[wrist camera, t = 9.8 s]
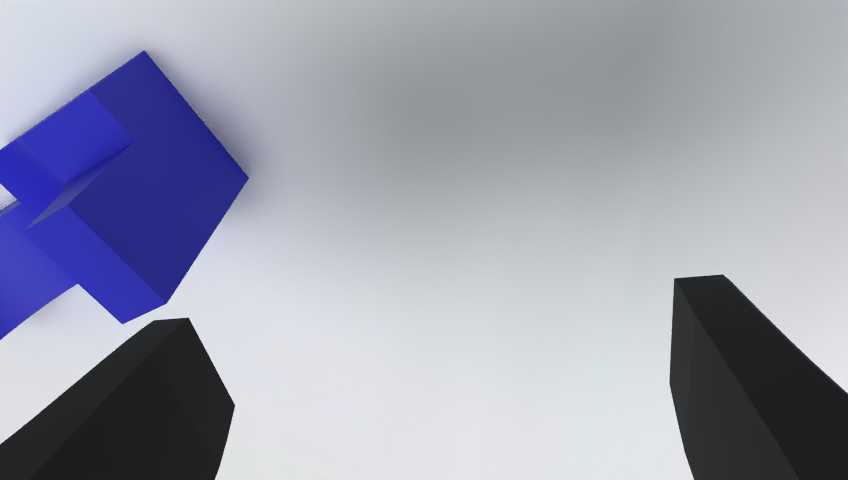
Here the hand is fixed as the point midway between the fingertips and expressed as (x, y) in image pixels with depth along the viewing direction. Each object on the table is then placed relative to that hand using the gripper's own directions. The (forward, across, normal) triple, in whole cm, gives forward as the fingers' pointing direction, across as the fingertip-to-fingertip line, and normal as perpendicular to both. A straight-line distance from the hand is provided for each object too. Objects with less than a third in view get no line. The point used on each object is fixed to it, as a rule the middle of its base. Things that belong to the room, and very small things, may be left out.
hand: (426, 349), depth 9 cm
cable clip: (+10, +13, +2) cm, 17 cm away
